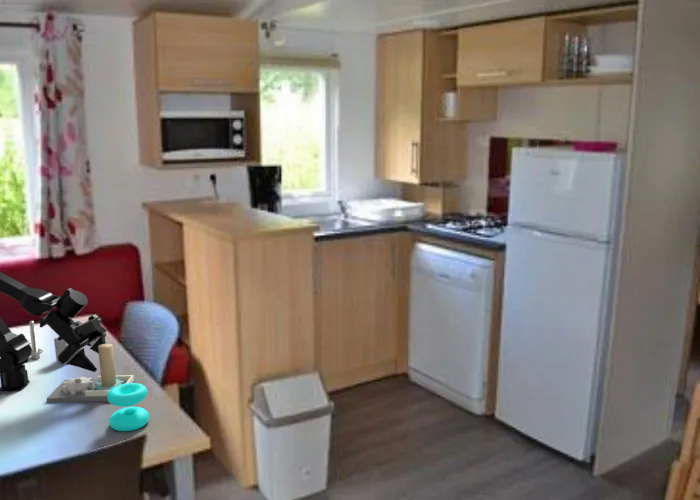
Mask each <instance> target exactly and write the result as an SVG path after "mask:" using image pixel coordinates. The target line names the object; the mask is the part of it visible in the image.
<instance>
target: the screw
mask: <svg viewBox="0 0 700 500" xmlns="http://www.w3.org/2000/svg"><path fill="white" fill-rule="evenodd" d="M36 330H37V329H36V328H35V322H34V320H30V321H29V333H30V336H29V337H30V341H31V342H30V343H31V344H30V346H31V348H32V352H31V356H30V357H31V359H32V360H37V359H40V356H41V354H43V352H44V350H43V349H41V348H39V347H38V342H37V331H36Z"/></svg>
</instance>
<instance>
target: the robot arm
mask: <svg viewBox="0 0 700 500" xmlns="http://www.w3.org/2000/svg"><path fill="white" fill-rule="evenodd" d="M0 292H1V293H2V294H5V295H6V296H8V297H10V298H12V299H14V300H15V301H17V302H18V303H19V304H20V306H21V308H22V309H23V310H24V311H25V312H27V313H28V314H30V315H32V316H34V317H38V316H39V317H40V316H41V317H40V318H39V328H44V327H45V326H48V327H49V328H51V329H50V330H52V331H53V332H54V333H55V334H56V335H58V336H57V337H58V338H57V337H56V338H57V339H58V340H59V341H61V340H64V341H65V342H66V343H67V344H68V346H67V347H66V348H65V349H64V350H63V351H62V352H61V353H60V354H59V355H58V361H59V362H60V363H59V364H61V365H62V366H63V365H66V366H69V365H70V366H74V367H78V368H81V369H84V370H85V371H86V370H87V371H88V372H89V371H90V372H93V373H96V371H97V370H98V369H97V367H96V366H95V365H94V364H93V362H92V361H91V360H90V359H89V358H88V356H87V355H86V353H85V347H86V346H88V347H90V348H89V349H90V350H91V351H93V352H95V353H97V354H98V355H99V351H98V346H99V345H102V344H107V343H106V336H107V332H108V330H107V328H105V327H104V326H102V321H103V320H102V318H101V317H100V316H99V315H97V314H96V313H94V314H91V315H90V316H88V319H87V321H85V322H83V323H82V322H81V321H79V320H77V321H74V319H72V318H76V316H77V315H78V314H79V313H80V312H81V311H82V310H83V309H84V308H85V307H86V306H87V305H88V304H89V303H88V302H89V301H88V298H87V296H86V295H85V294H84V293H83V292H81V291H78V290H74V289H73V288H72V287H70V288H67V289H66V290H65V291H64V292H63V295H61V296H59V295H55V294H52V293H51V292H49V291H47V290H43V289H41V288H34V287H29V286H27V285H25V284H23V283H21V282H20V281H17V280H16V279H14V278H12V277H10V276H8V275H7V274H5V273H3V272H1V271H0ZM53 309H55V310H53ZM46 313H47V314H46ZM44 314H46V315H44ZM42 315H44V316H42ZM31 345H32V343H31V342H30V341H29V340H28V339H27V337H26V336H25V334H23V332H22V333H19V334H16V333H14V332H12V331H11V329H10V328H9V327H8V325H7V324H6V323H5V321H4V320H3V319H2V317H1V316H0V392H1V391H5V392H6V391H7V392H8V391H9V392H10V391H21V390H23V389H24V388H25V387H26V386H27V385H29V383H30V382H31V381H30V379H29V377H28V376H29V375H28V374H29V373H28V370H27V369H26V365H25V364H27V363H28V361H29V359H30V357H31V352H32V346H31ZM80 349H81V350H80ZM68 361H69V362H68ZM67 362H68V363H67ZM65 363H67V364H65Z"/></svg>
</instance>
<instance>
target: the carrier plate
mask: <svg viewBox="0 0 700 500" xmlns="http://www.w3.org/2000/svg"><path fill="white" fill-rule="evenodd" d="M115 376H116V378H118V379H119V380H120V381H124V384H125V383H136V378H135V375H134V374H132V375H131V374H129V375H125V374H123V375H115ZM96 382H101V375H98V376H97V379H94V378H93V377H86V376H85V375H84V376H80V377H71V378H69V379H64V380H63V381H62V382H61V383H60V384H59V385H58V386H57V387H56V388H55V389H54V390H53V391H52V392H51V393H50V394H49V395H48V396H47V397H46V403H71V402H72V403H73V402H74V403H76V402H81V403H82V402H85V401H86V402H109V401H108V399H107V394H108V392H109V391H110V390H94V389H93V386H95V383H96Z"/></svg>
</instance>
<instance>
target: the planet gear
mask: <svg viewBox="0 0 700 500" xmlns="http://www.w3.org/2000/svg"><path fill="white" fill-rule="evenodd" d="M98 351H99V354H98V359H99V360H98V361H99V370H100V376H101V382H96V383H95V386H93V389H94V390H111V389H112V388H113V387H115V386H118V385H121V384H124V381H120V380H119V379H118V378H116V376H117V375H116V367H115V366H116V365H115V357H114V345H113V344H112V343H106V344H102V345H99V346H98Z"/></svg>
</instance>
